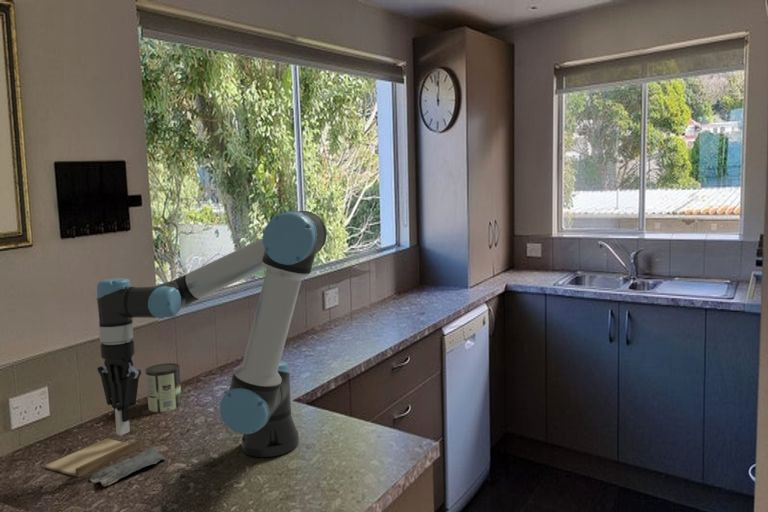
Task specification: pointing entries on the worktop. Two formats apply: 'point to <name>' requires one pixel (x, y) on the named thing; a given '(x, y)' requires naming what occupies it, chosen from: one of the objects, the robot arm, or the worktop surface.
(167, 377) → the coffee can
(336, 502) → the worktop surface
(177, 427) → the worktop surface
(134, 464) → the stone slab
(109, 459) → the board
